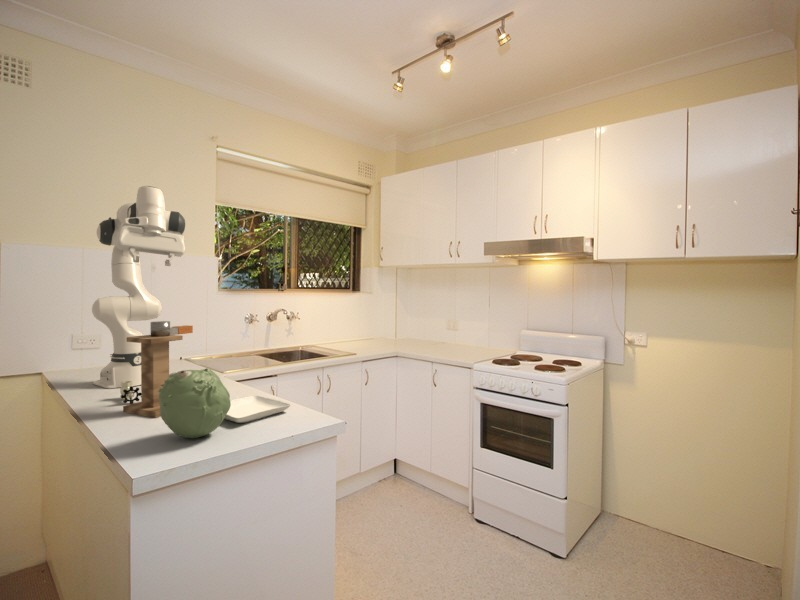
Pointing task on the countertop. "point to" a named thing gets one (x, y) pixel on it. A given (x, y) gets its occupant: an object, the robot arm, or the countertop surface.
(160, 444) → the countertop surface
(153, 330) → the valve lever
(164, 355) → the stand
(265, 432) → the countertop surface
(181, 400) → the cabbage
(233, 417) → the salad plate
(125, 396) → the valve
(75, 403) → the countertop surface
